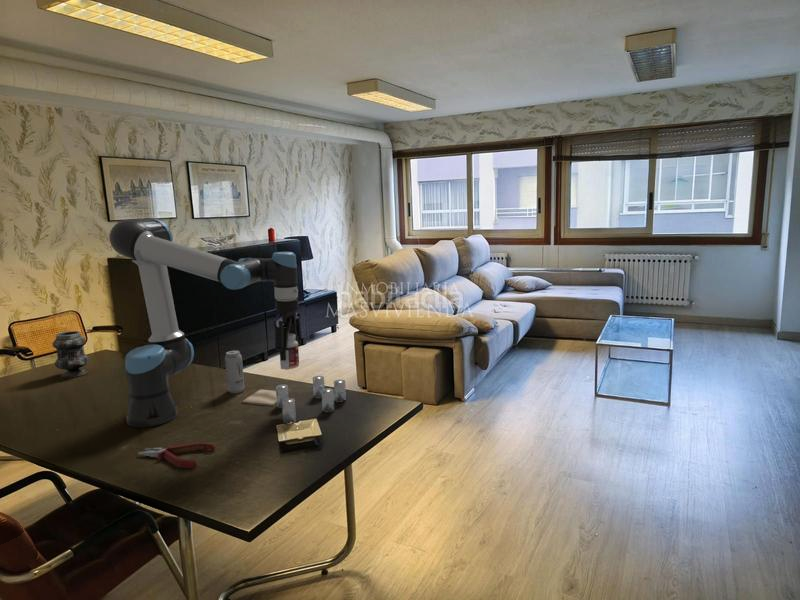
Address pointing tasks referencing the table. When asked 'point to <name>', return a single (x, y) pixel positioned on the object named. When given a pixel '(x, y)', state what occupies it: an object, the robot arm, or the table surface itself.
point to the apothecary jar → (70, 353)
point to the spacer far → (318, 385)
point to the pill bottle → (292, 351)
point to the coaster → (262, 398)
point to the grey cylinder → (339, 390)
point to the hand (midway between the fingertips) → (290, 365)
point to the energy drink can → (234, 371)
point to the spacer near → (289, 410)
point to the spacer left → (281, 394)
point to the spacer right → (327, 399)
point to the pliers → (173, 459)
